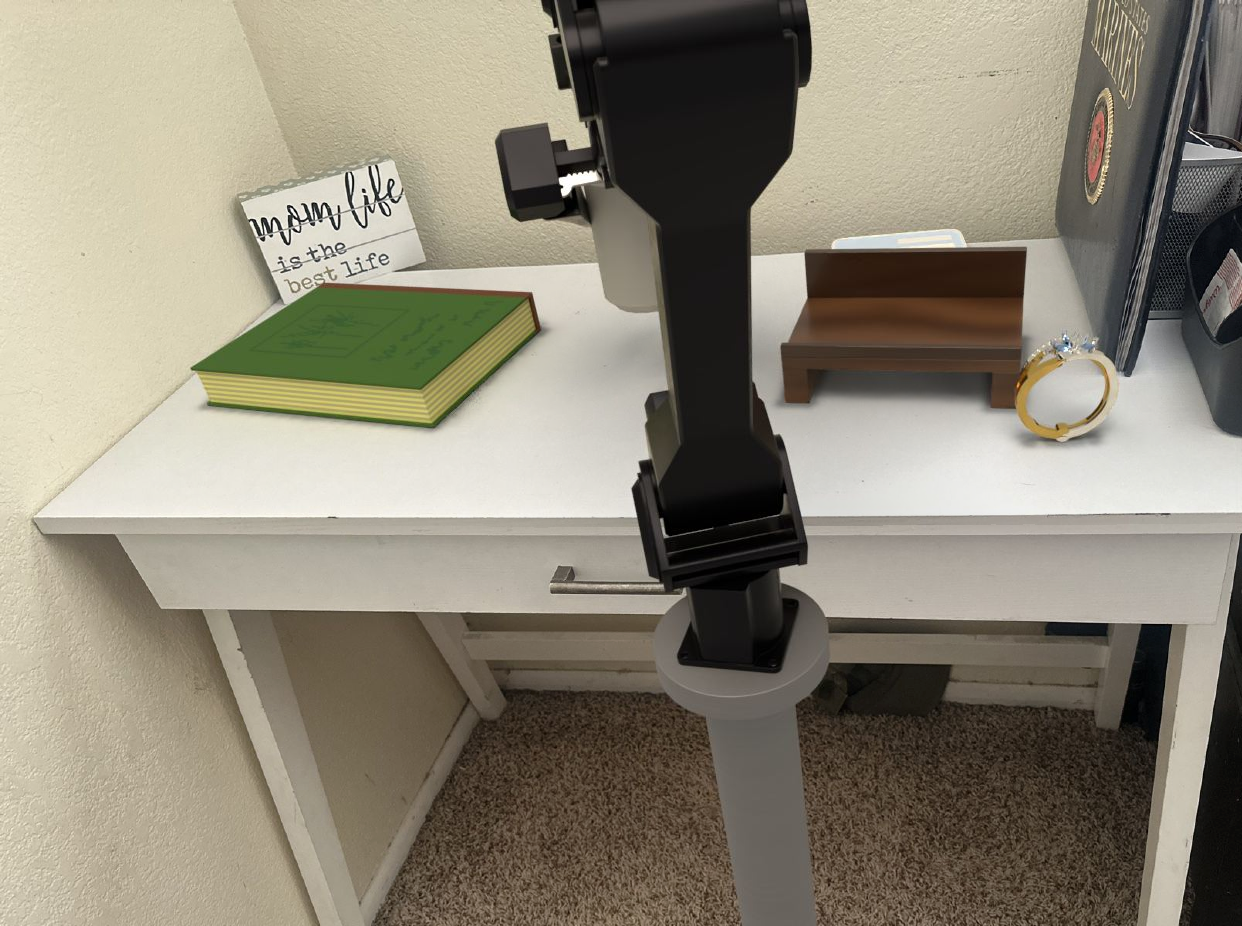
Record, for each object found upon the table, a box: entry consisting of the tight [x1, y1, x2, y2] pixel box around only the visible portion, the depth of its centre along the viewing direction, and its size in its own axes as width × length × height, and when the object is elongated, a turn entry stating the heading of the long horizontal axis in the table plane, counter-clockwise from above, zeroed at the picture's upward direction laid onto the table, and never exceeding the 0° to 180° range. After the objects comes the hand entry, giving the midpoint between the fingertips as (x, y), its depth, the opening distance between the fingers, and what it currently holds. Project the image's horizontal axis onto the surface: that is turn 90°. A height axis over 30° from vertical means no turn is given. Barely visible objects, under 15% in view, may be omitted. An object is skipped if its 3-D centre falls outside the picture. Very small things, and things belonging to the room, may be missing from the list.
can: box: [583, 183, 658, 314], centre depth 81 cm, size 8×8×12 cm
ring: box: [1014, 329, 1120, 443], centre depth 71 cm, size 7×3×8 cm, turn 86°
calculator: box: [830, 228, 968, 249], centre depth 97 cm, size 13×20×2 cm, turn 178°
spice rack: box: [779, 246, 1028, 409], centre depth 81 cm, size 12×18×8 cm, turn 76°
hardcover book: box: [189, 282, 542, 429], centre depth 94 cm, size 25×19×4 cm
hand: (636, 213), depth 81 cm, fingers closed on can, 7 cm apart
